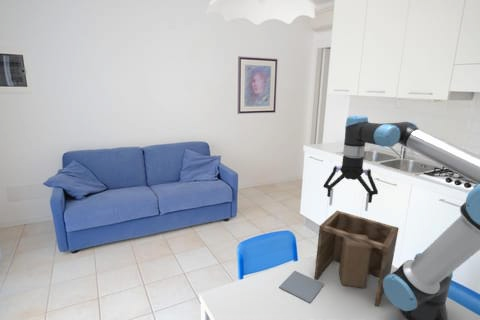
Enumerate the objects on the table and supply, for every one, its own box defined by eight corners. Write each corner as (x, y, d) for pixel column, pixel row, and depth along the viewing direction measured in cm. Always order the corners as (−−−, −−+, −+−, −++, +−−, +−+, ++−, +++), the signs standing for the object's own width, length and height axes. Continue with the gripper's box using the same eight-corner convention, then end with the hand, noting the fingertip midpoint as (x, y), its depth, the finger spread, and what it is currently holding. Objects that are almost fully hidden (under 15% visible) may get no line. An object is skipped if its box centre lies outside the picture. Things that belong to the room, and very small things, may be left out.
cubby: (389, 280, 127) (398, 227, 120) (377, 307, 111) (388, 248, 105) (331, 258, 142) (336, 210, 136) (314, 278, 127) (319, 225, 120)
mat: (324, 284, 123) (324, 283, 123) (310, 303, 112) (310, 302, 112) (294, 271, 131) (294, 270, 131) (278, 287, 120) (278, 286, 120)
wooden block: (366, 289, 121) (373, 246, 116) (341, 285, 123) (346, 243, 118) (361, 274, 131) (367, 234, 125) (338, 271, 132) (343, 231, 127)
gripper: (388, 157, 111) (381, 208, 116) (321, 151, 121) (318, 199, 126) (389, 161, 104) (382, 215, 109) (318, 154, 114) (315, 205, 119)
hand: (348, 207), depth 117 cm, fingers open, 13 cm apart
